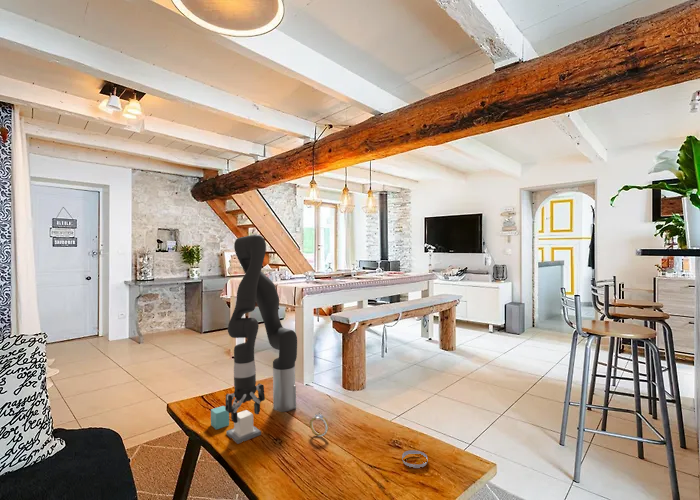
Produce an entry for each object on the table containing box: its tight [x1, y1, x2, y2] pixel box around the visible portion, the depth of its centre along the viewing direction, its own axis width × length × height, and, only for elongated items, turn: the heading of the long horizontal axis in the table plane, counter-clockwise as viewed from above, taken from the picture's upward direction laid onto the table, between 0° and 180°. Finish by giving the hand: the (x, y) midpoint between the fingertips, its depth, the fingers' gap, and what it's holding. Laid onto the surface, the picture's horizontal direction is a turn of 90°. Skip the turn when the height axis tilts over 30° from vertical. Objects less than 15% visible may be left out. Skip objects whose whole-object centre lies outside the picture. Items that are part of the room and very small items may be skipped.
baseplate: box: [225, 425, 262, 445], centre depth 130 cm, size 9×9×1 cm
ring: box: [309, 412, 329, 438], centre depth 128 cm, size 7×3×8 cm, turn 61°
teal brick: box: [210, 405, 230, 430], centre depth 137 cm, size 5×5×6 cm
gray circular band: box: [401, 449, 428, 469], centre depth 112 cm, size 8×8×2 cm
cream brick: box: [233, 409, 254, 436], centre depth 130 cm, size 5×5×6 cm
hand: (246, 417), depth 130 cm, fingers open, 8 cm apart
